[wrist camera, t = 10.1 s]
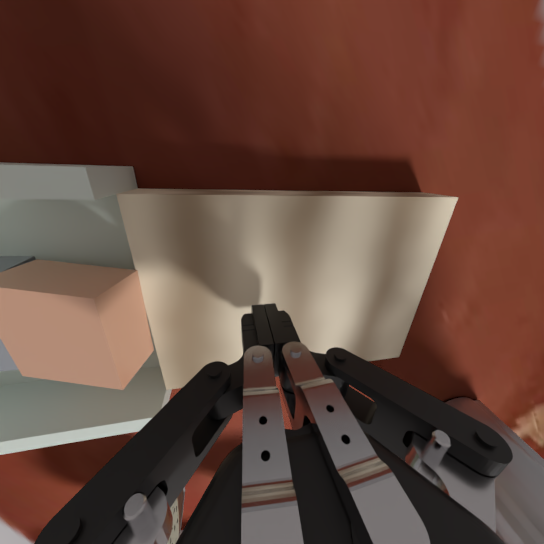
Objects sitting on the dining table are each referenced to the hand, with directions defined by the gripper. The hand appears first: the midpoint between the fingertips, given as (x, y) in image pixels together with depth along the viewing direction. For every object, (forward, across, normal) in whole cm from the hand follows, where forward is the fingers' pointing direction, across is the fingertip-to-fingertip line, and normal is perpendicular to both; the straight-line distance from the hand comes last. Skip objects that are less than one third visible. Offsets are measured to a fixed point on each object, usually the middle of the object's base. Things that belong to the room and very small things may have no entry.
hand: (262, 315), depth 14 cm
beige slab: (+4, -3, 0) cm, 5 cm away
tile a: (+2, +10, 0) cm, 10 cm away
